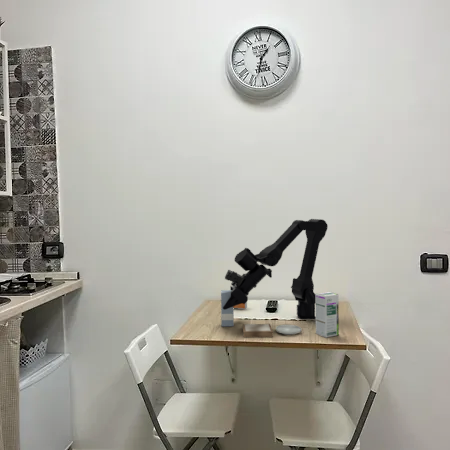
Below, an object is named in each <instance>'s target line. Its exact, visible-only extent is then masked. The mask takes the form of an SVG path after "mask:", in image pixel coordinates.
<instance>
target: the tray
mask: <svg viewBox="0 0 450 450" xmlns="http://www.w3.org/2000/svg"><path fill="white" fill-rule="evenodd" d="M242 333H243V338H272V337H274V331H273V329H272V325H271V323H243V324H242Z"/></svg>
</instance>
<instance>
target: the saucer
mask: <svg viewBox="0 0 450 450" xmlns="http://www.w3.org/2000/svg"><path fill="white" fill-rule="evenodd" d="M275 331H276V332H277V333H280V334H283V335H295V334H299V333H301V332H302V327H301V326H299V325H296V324H295V325H294V324H280V325H277V326H276V327H275Z"/></svg>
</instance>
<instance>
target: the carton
mask: <svg viewBox="0 0 450 450" xmlns="http://www.w3.org/2000/svg"><path fill="white" fill-rule="evenodd" d="M231 291H232V290H227V289H226V290H225V289H224V290H221V291H220V298H221V299H220V301H221V302H220V303H221V305H220V306H221V308H220V310H221V311H220V313H221V314H220V315H221V317H220V320H221V321H220V322H221V323H220V325H221V327H234V326H235V325H234V320H235V319H234V318H235V317H234V316H235V314H234V312H235V311H234V309H233V307H231V308H228V309H226V310H224V309H223V306H224V305H225V304H226V302H227V301H228V299H229V298H230V296H231Z"/></svg>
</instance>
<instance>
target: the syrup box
mask: <svg viewBox="0 0 450 450" xmlns="http://www.w3.org/2000/svg"><path fill="white" fill-rule="evenodd" d="M339 305H340V303H339V294H338V293H336V292H332V291H331V292H330V291H326V292H319V293H315V317H316V319H315V334H316V335H318V336H320V337H322V338H330V337H335V336H339V332H340V329H339V323H340V322H339V320H340V319H339V318H340V317H339V310H340V309H339V308H340V307H339Z"/></svg>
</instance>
